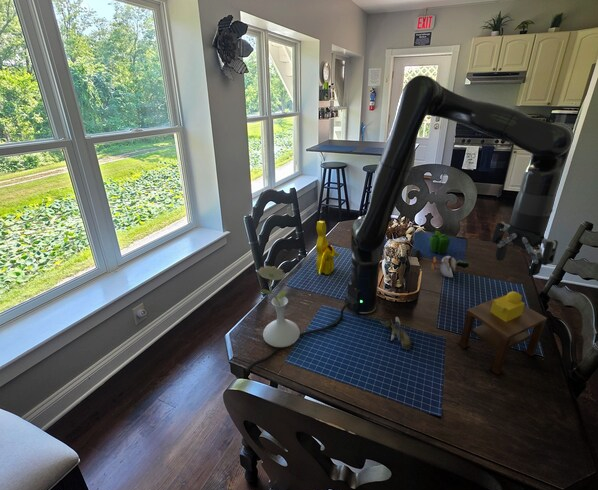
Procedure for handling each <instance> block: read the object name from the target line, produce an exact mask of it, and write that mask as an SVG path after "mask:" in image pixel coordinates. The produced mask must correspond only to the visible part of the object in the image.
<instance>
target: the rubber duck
mask: <svg viewBox="0 0 598 490" xmlns="http://www.w3.org/2000/svg"><path fill="white" fill-rule="evenodd" d="M505 295H506V296H503V297H501V298H498V299H496V300H493V304H492V307H491V311H490V312H491V313H492V314H494V315H495V316H497V317H499V318H500V319H502V320H503V321H505V322H507V321H510V320H512V319H514V318H516V317H518V316H521V314H522V311H523V308H524V305H525V304H526V303H525V302H523V301H522V298H523V295H522V294H521V293H519V292H517V291H509V292H508V293H507V294H505ZM525 306H526V305H525Z"/></svg>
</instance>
